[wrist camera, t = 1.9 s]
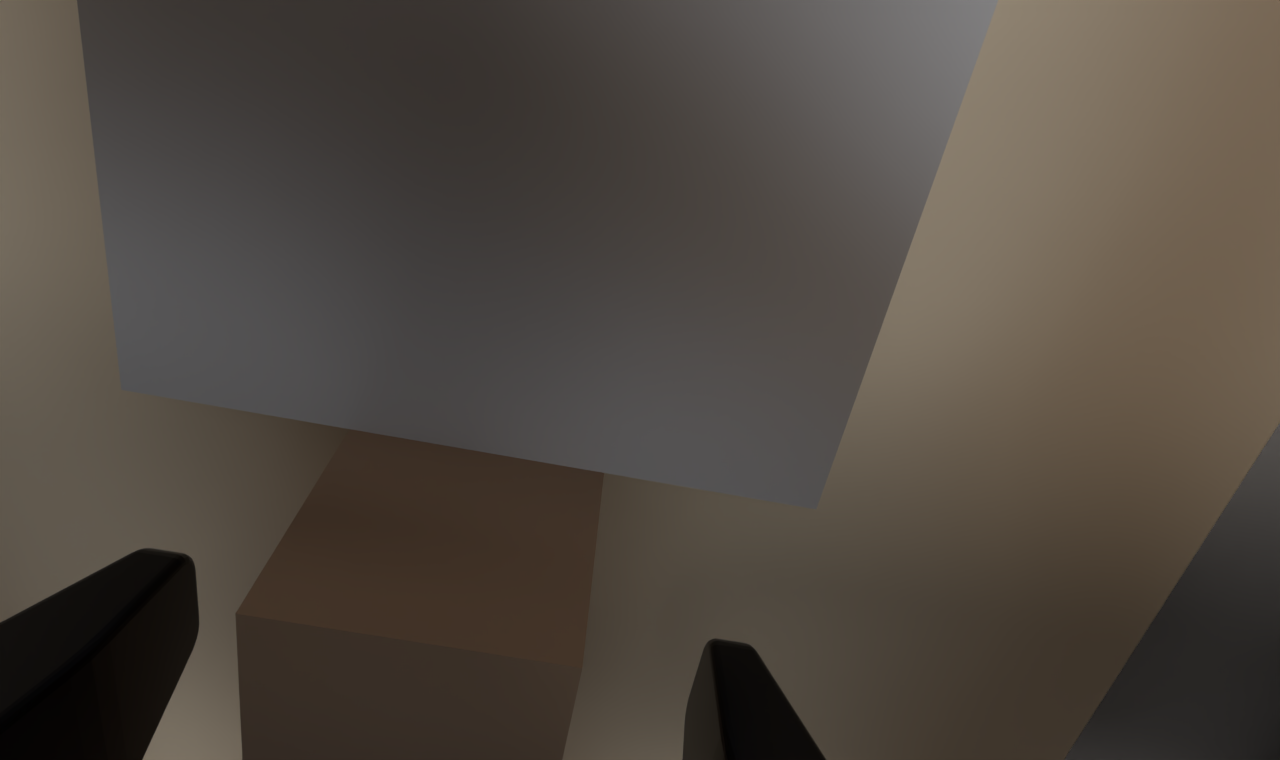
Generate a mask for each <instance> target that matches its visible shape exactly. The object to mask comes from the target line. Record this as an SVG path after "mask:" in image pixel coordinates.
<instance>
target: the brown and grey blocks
mask: <svg viewBox="0 0 1280 760" xmlns="http://www.w3.org/2000/svg"><path fill="white" fill-rule="evenodd" d="M997 2H998V0H77V6H78V14H79V23H80V32H81V41H82V50H83V58H84V67H85V76H86V85H87V93H88V102H89V111H90V120H91V128H92V137H93V146H94V155H95V163H96V172H97V181H98V190H99V198H100V207H101V216H102V225H103V234H104V242H105V251H106V260H107V269H108V277H109V286H110V295H111V304H112V312H113V321H114V330H115V339H116V347H117V356H118V365H119V374H120V382H121V390H125V391H131V392H137V393H143V394H148V395H154V396H160V397H166V398H172V399H177V400H183V401H189V402H195V403H201V404H207V405H212V406H218V407H224V408H230V409H236V410H241V411H247V412H253V413H259V414H265V415H270V416H276V417H282V418H288V419H294V420H300V421H305V422H311V423H317V424H323V425H329V426H334V427H340V428H346V429H349V431H348V432H347V434H346V436H345V437H344V439H343V440H342V442H341V444H340V445H339V447H338V448H337V450H336V452H335V453H334V455H333V457H332V458H331V460H330V461H329V463H328V465H327V466H326V468H325V469H324V471H323V473H322V474H321V476H320V478H319V479H318V481H317V482H316V484H315V486H314V487H313V489H312V491H311V492H310V494H309V495H308V497H307V499H306V500H305V502H304V503H303V505H302V507H301V508H300V510H299V512H298V513H297V515H296V516H295V518H294V520H293V521H292V523H291V524H290V526H289V528H288V529H287V531H286V533H285V534H284V536H283V537H282V539H281V541H280V542H279V544H278V545H277V547H276V549H275V550H274V552H273V554H272V555H271V557H270V558H269V560H268V562H267V563H266V565H265V567H264V568H263V570H262V571H261V573H260V575H259V576H258V578H257V579H256V581H255V583H254V584H253V586H252V588H251V589H250V591H249V592H248V594H247V596H246V597H245V599H244V600H243V602H242V604H241V605H240V607H239V609H238V610H237V612H236V613H235V616H236V637H237V658H238V679H239V700H240V720H241V741H242V760H562V759H563V754H564V749H565V745H566V740H567V736H568V731H569V727H570V722H571V718H572V713H573V709H574V704H575V699H576V695H577V690H578V686H579V681H580V677H581V672H582V667H583V658H584V649H585V640H586V631H587V622H588V613H589V604H590V595H591V586H592V577H593V568H594V559H595V550H596V541H597V532H598V523H599V514H600V505H601V496H602V487H603V478H604V473H608V474H613V475H619V476H625V477H631V478H637V479H642V480H648V481H654V482H660V483H666V484H672V485H677V486H683V487H689V488H695V489H701V490H706V491H712V492H718V493H724V494H730V495H735V496H741V497H747V498H753V499H759V500H765V501H770V502H776V503H782V504H788V505H794V506H799V507H805V508H811V509H816V508H817V506H818V503H819V500H820V497H821V494H822V492H823V489H824V486H825V483H826V480H827V478H828V475H829V472H830V469H831V467H832V464H833V461H834V458H835V455H836V453H837V450H838V447H839V444H840V441H841V439H842V436H843V433H844V430H845V427H846V425H847V422H848V419H849V416H850V413H851V411H852V408H853V405H854V402H855V399H856V397H857V394H858V391H859V388H860V385H861V383H862V380H863V377H864V374H865V371H866V369H867V366H868V363H869V360H870V357H871V355H872V352H873V349H874V346H875V343H876V341H877V338H878V335H879V332H880V329H881V327H882V324H883V321H884V318H885V315H886V313H887V310H888V307H889V304H890V302H891V299H892V296H893V293H894V290H895V288H896V285H897V282H898V279H899V276H900V274H901V271H902V268H903V265H904V262H905V260H906V257H907V254H908V251H909V248H910V246H911V243H912V240H913V237H914V234H915V232H916V229H917V226H918V223H919V220H920V218H921V215H922V212H923V209H924V206H925V204H926V201H927V198H928V195H929V192H930V190H931V187H932V184H933V181H934V178H935V176H936V173H937V170H938V167H939V164H940V162H941V159H942V156H943V153H944V150H945V148H946V145H947V142H948V139H949V137H950V134H951V131H952V128H953V125H954V123H955V120H956V117H957V114H958V111H959V109H960V106H961V103H962V100H963V97H964V95H965V92H966V89H967V86H968V83H969V81H970V78H971V75H972V72H973V69H974V67H975V64H976V61H977V58H978V55H979V53H980V50H981V47H982V44H983V41H984V39H985V36H986V33H987V30H988V27H989V25H990V22H991V19H992V16H993V13H994V11H995V8H996V5H997Z"/></svg>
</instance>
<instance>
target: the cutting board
mask: <svg viewBox="0 0 1280 760" xmlns="http://www.w3.org/2000/svg"><path fill="white" fill-rule="evenodd" d="M1279 423H1280V0H998V2H997V5H996V8H995V11H994V13H993V16H992V19H991V22H990V25H989V27H988V30H987V33H986V36H985V39H984V41H983V44H982V47H981V50H980V53H979V55H978V58H977V61H976V64H975V67H974V69H973V72H972V75H971V78H970V81H969V83H968V86H967V89H966V92H965V95H964V97H963V100H962V103H961V106H960V109H959V111H958V114H957V117H956V120H955V123H954V125H953V128H952V131H951V134H950V137H949V139H948V142H947V145H946V148H945V150H944V153H943V156H942V159H941V162H940V164H939V167H938V170H937V173H936V176H935V178H934V181H933V184H932V187H931V190H930V192H929V195H928V198H927V201H926V204H925V206H924V209H923V212H922V215H921V218H920V220H919V223H918V226H917V229H916V232H915V234H914V237H913V240H912V243H911V246H910V248H909V251H908V254H907V257H906V260H905V262H904V265H903V268H902V271H901V274H900V276H899V279H898V282H897V285H896V288H895V290H894V293H893V296H892V299H891V302H890V304H889V307H888V310H887V313H886V315H885V318H884V321H883V324H882V327H881V329H880V332H879V335H878V338H877V341H876V343H875V346H874V349H873V352H872V355H871V357H870V360H869V363H868V366H867V369H866V371H865V374H864V377H863V380H862V383H861V385H860V388H859V391H858V394H857V397H856V399H855V402H854V405H853V408H852V411H851V413H850V416H849V419H848V422H847V425H846V427H845V430H844V433H843V436H842V439H841V441H840V444H839V447H838V450H837V453H836V455H835V458H834V461H833V464H832V467H831V469H830V472H829V475H828V478H827V480H826V483H825V486H824V489H823V492H822V494H821V497H820V500H819V503H818V506H817V508H816V509H811V508H805V507H799V506H794V505H788V504H782V503H776V502H770V501H765V500H759V499H753V498H747V497H741V496H735V495H730V494H724V493H718V492H712V491H706V490H701V489H695V488H689V487H683V486H677V485H672V484H666V483H660V482H654V481H648V480H642V479H637V478H631V477H625V476H619V475H613V474H608V473H604V478H603V487H602V496H601V505H600V514H599V523H598V532H597V541H596V550H595V559H594V568H593V577H592V586H591V595H590V604H589V613H588V622H587V631H586V640H585V649H584V658H583V667H582V672H581V677H580V681H579V686H578V690H577V695H576V699H575V704H574V709H573V713H572V718H571V722H570V727H569V731H568V736H567V740H566V745H565V749H564V754H563V759H562V760H683V741H684V724H685V714H686V707H687V702H688V698H689V695H690V691H691V688H692V685H693V682H694V678H695V675H696V672H697V669H698V665H699V662H700V659H701V656H702V652H703V649H704V647H705V645H706V643H707V642H708V641H709V640H711V639H714V638H717V639H723V640H729V641H736V642H742V643H747V644H749V645H751V646H752V647H753V648H754V649H755V650H756V651H757V652H758V654H759V656H760V657H761V659H762V660H763V662H764V663H765V665H766V666H767V668H768V670H769V671H770V673H771V674H772V676H773V677H774V679H775V680H776V682H777V684H778V685H779V687H780V688H781V690H782V691H783V693H784V694H785V696H786V698H787V699H788V701H789V702H790V704H791V705H792V707H793V708H794V710H795V712H796V713H797V715H798V716H799V718H800V719H801V721H802V723H803V724H804V726H805V727H806V729H807V730H808V732H809V733H810V735H811V737H812V738H813V740H814V741H815V743H816V744H817V746H818V747H819V749H820V751H821V752H822V754H823V755H824V757H825V758H826V760H1064V759H1065V757H1066V756H1067V754H1068V753H1069V751H1070V749H1071V748H1072V746H1073V745H1074V743H1075V742H1076V740H1077V739H1078V737H1079V735H1080V734H1081V732H1082V731H1083V729H1084V728H1085V726H1086V724H1087V723H1088V721H1089V720H1090V718H1091V717H1092V715H1093V714H1094V712H1095V710H1096V709H1097V707H1098V706H1099V704H1100V703H1101V701H1102V699H1103V698H1104V696H1105V695H1106V693H1107V692H1108V690H1109V689H1110V687H1111V685H1112V684H1113V682H1114V681H1115V679H1116V678H1117V676H1118V674H1119V673H1120V671H1121V670H1122V668H1123V667H1124V665H1125V664H1126V662H1127V660H1128V659H1129V657H1130V656H1131V654H1132V653H1133V651H1134V649H1135V648H1136V646H1137V645H1138V643H1139V642H1140V640H1141V639H1142V637H1143V635H1144V634H1145V632H1146V631H1147V629H1148V628H1149V626H1150V624H1151V623H1152V621H1153V620H1154V618H1155V617H1156V615H1157V614H1158V612H1159V610H1160V609H1161V607H1162V606H1163V604H1164V603H1165V601H1166V599H1167V598H1168V596H1169V595H1170V593H1171V592H1172V590H1173V589H1174V587H1175V585H1176V584H1177V582H1178V581H1179V579H1180V578H1181V576H1182V574H1183V573H1184V571H1185V570H1186V568H1187V567H1188V565H1189V564H1190V562H1191V560H1192V559H1193V557H1194V556H1195V554H1196V553H1197V551H1198V549H1199V548H1200V546H1201V545H1202V543H1203V542H1204V540H1205V539H1206V537H1207V535H1208V534H1209V532H1210V531H1211V529H1212V528H1213V526H1214V524H1215V523H1216V521H1217V520H1218V518H1219V517H1220V515H1221V514H1222V512H1223V510H1224V509H1225V507H1226V506H1227V504H1228V503H1229V501H1230V499H1231V498H1232V496H1233V495H1234V493H1235V492H1236V490H1237V489H1238V487H1239V485H1240V484H1241V482H1242V481H1243V479H1244V478H1245V476H1246V475H1247V473H1248V471H1249V470H1250V468H1251V467H1252V465H1253V464H1254V462H1255V460H1256V459H1257V457H1258V456H1259V454H1260V453H1261V451H1262V450H1263V448H1264V446H1265V445H1266V443H1267V442H1268V440H1269V439H1270V437H1271V435H1272V434H1273V432H1274V431H1275V429H1276V428H1277V426H1278V425H1279ZM348 431H349V429H346V428H340V427H334V426H329V425H323V424H317V423H311V422H305V421H300V420H294V419H288V418H282V417H276V416H270V415H265V414H259V413H253V412H247V411H241V410H236V409H230V408H224V407H218V406H212V405H207V404H201V403H195V402H189V401H183V400H177V399H172V398H166V397H160V396H154V395H148V394H143V393H137V392H131V391H125V390H121V382H120V374H119V365H118V356H117V347H116V339H115V330H114V321H113V312H112V304H111V295H110V286H109V277H108V269H107V260H106V251H105V242H104V234H103V225H102V216H101V207H100V198H99V190H98V181H97V172H96V163H95V155H94V146H93V137H92V128H91V120H90V111H89V102H88V93H87V85H86V76H85V67H84V58H83V50H82V41H81V32H80V23H79V14H78V6H77V0H0V622H2V621H4V620H6V619H8V618H9V617H11V616H13V615H15V614H17V613H19V612H21V611H23V610H25V609H26V608H28V607H30V606H32V605H34V604H36V603H38V602H40V601H41V600H43V599H45V598H47V597H49V596H51V595H53V594H55V593H57V592H58V591H60V590H62V589H64V588H66V587H68V586H70V585H72V584H74V583H75V582H77V581H79V580H81V579H83V578H85V577H87V576H89V575H90V574H92V573H94V572H96V571H98V570H100V569H102V568H104V567H106V566H107V565H109V564H111V563H113V562H115V561H117V560H119V559H121V558H123V557H124V556H126V555H128V554H130V553H132V552H134V551H136V550H139V549H143V548H154V549H160V550H167V551H173V552H179V553H185V554H187V555H189V556H190V557H191V558H192V559H193V561H194V564H195V569H196V581H197V594H198V607H199V632H198V636H197V640H196V643H195V646H194V649H193V651H192V653H191V655H190V658H189V660H188V662H187V664H186V666H185V668H184V671H183V673H182V675H181V677H180V679H179V682H178V684H177V686H176V688H175V690H174V692H173V695H172V697H171V699H170V701H169V703H168V705H167V708H166V710H165V712H164V714H163V716H162V718H161V721H160V723H159V725H158V727H157V729H156V732H155V734H154V736H153V738H152V740H151V742H150V745H149V747H148V749H147V751H146V753H145V755H144V758H143V760H242V741H241V720H240V700H239V679H238V658H237V637H236V616H235V613H236V612H237V610H238V609H239V607H240V605H241V604H242V602H243V600H244V599H245V597H246V596H247V594H248V592H249V591H250V589H251V588H252V586H253V584H254V583H255V581H256V579H257V578H258V576H259V575H260V573H261V571H262V570H263V568H264V567H265V565H266V563H267V562H268V560H269V558H270V557H271V555H272V554H273V552H274V550H275V549H276V547H277V545H278V544H279V542H280V541H281V539H282V537H283V536H284V534H285V533H286V531H287V529H288V528H289V526H290V524H291V523H292V521H293V520H294V518H295V516H296V515H297V513H298V512H299V510H300V508H301V507H302V505H303V503H304V502H305V500H306V499H307V497H308V495H309V494H310V492H311V491H312V489H313V487H314V486H315V484H316V482H317V481H318V479H319V478H320V476H321V474H322V473H323V471H324V469H325V468H326V466H327V465H328V463H329V461H330V460H331V458H332V457H333V455H334V453H335V452H336V450H337V448H338V447H339V445H340V444H341V442H342V440H343V439H344V437H345V436H346V434H347V432H348Z"/></svg>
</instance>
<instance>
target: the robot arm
mask: <svg viewBox="0 0 1280 760" xmlns="http://www.w3.org/2000/svg"><path fill="white" fill-rule="evenodd" d="M198 632H199V607H198V594H197V581H196V569H195V564H194V561H193V559H192V558H191V557H190V556H189V555H187V554H185V553H179V552H173V551H167V550H160V549H154V548H143V549H139V550H136V551H134V552H132V553H130V554H128V555H126V556H124V557H123V558H121V559H119V560H117V561H115V562H113V563H111V564H109V565H107V566H106V567H104V568H102V569H100V570H98V571H96V572H94V573H92V574H90V575H89V576H87V577H85V578H83V579H81V580H79V581H77V582H75V583H74V584H72V585H70V586H68V587H66V588H64V589H62V590H60V591H58V592H57V593H55V594H53V595H51V596H49V597H47V598H45V599H43V600H41V601H40V602H38V603H36V604H34V605H32V606H30V607H28V608H26V609H25V610H23V611H21V612H19V613H17V614H15V615H13V616H11V617H9V618H8V619H6V620H4V621H2V622H0V760H143V758H144V755H145V753H146V751H147V749H148V747H149V745H150V742H151V740H152V738H153V736H154V734H155V732H156V729H157V727H158V725H159V723H160V721H161V718H162V716H163V714H164V712H165V710H166V708H167V705H168V703H169V701H170V699H171V697H172V695H173V692H174V690H175V688H176V686H177V684H178V682H179V679H180V677H181V675H182V673H183V671H184V668H185V666H186V664H187V662H188V660H189V658H190V655H191V653H192V651H193V649H194V646H195V643H196V640H197V636H198ZM683 760H826V758H825V757H824V755H823V754H822V752H821V751H820V749H819V747H818V746H817V744H816V743H815V741H814V740H813V738H812V737H811V735H810V733H809V732H808V730H807V729H806V727H805V726H804V724H803V723H802V721H801V719H800V718H799V716H798V715H797V713H796V712H795V710H794V708H793V707H792V705H791V704H790V702H789V701H788V699H787V698H786V696H785V694H784V693H783V691H782V690H781V688H780V687H779V685H778V684H777V682H776V680H775V679H774V677H773V676H772V674H771V673H770V671H769V670H768V668H767V666H766V665H765V663H764V662H763V660H762V659H761V657H760V656H759V654H758V652H757V651H756V650H755V649H754V648H753V647H752V646H751V645H749V644H747V643H742V642H736V641H729V640H723V639H717V638H714V639H711V640H709V641H708V642H707V643H706V645H705V647H704V649H703V652H702V656H701V659H700V662H699V665H698V669H697V672H696V675H695V678H694V682H693V685H692V688H691V691H690V695H689V698H688V702H687V707H686V714H685V724H684V741H683Z"/></svg>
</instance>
